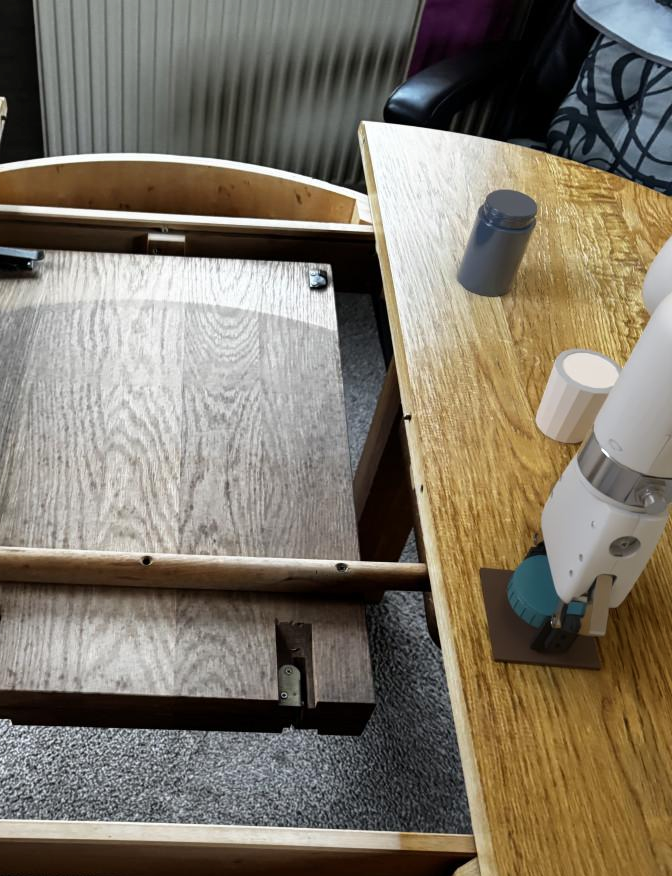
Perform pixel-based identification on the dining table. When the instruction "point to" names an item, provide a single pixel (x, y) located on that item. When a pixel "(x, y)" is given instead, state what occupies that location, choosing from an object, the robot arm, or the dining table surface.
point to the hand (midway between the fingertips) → (540, 612)
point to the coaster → (525, 630)
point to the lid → (535, 591)
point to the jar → (497, 242)
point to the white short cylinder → (575, 394)
